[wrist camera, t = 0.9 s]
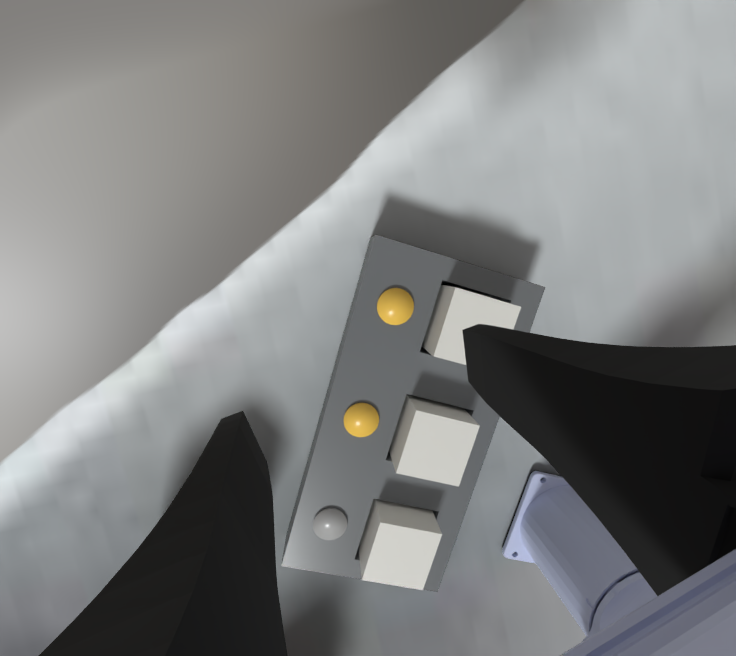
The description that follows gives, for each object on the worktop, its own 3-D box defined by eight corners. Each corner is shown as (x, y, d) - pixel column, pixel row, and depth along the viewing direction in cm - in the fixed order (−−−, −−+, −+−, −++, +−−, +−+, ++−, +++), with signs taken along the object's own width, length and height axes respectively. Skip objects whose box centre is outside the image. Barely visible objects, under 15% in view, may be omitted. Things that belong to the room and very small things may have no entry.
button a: (499, 302, 25) (521, 306, 22) (479, 361, 26) (498, 373, 23) (440, 284, 25) (455, 287, 22) (421, 345, 25) (433, 356, 22)
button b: (463, 408, 26) (479, 425, 23) (444, 462, 27) (458, 486, 24) (406, 393, 26) (416, 410, 23) (388, 450, 26) (396, 473, 23)
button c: (430, 505, 27) (442, 534, 24) (413, 556, 28) (422, 590, 25) (374, 494, 27) (380, 522, 24) (358, 546, 27) (361, 579, 24)
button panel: (522, 285, 27) (547, 287, 24) (427, 560, 30) (438, 594, 27) (370, 238, 26) (376, 234, 22) (286, 535, 29) (280, 568, 26)
